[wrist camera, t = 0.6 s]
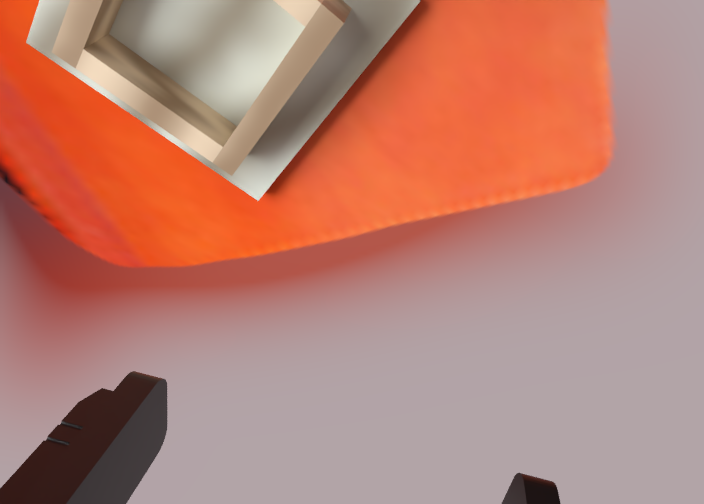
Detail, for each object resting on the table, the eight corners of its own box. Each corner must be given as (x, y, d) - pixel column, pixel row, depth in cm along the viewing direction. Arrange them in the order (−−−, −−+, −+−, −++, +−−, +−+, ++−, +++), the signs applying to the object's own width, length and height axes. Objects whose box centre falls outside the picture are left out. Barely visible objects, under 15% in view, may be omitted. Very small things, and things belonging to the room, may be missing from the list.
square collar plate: (37, 36, 35) (-5, 57, 31) (137, -266, 25) (91, -282, 21) (262, 192, 40) (246, 223, 37) (420, -4, 30) (418, 15, 27)
